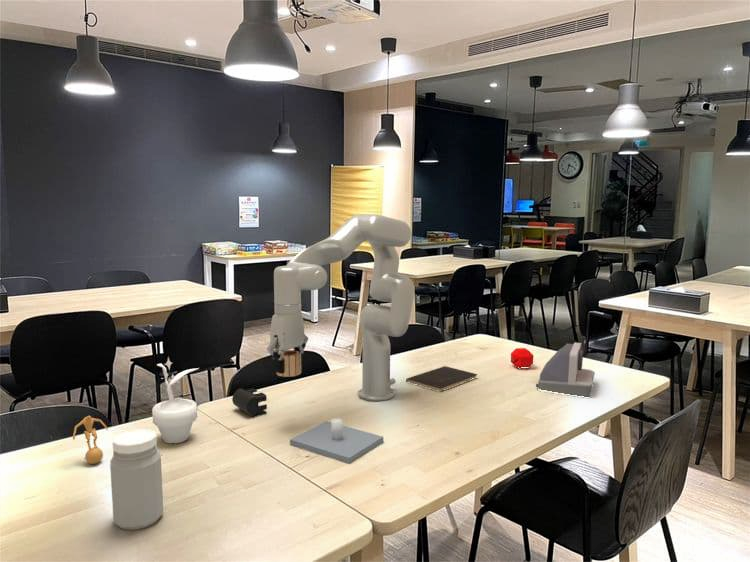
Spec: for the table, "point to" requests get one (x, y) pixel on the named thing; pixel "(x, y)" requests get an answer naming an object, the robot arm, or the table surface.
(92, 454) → the figurine
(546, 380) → the grey angular piece
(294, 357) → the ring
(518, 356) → the ball
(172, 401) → the potted plant
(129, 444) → the jar
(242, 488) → the table surface
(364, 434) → the post stand
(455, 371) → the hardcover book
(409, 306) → the robot arm
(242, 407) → the end cap
